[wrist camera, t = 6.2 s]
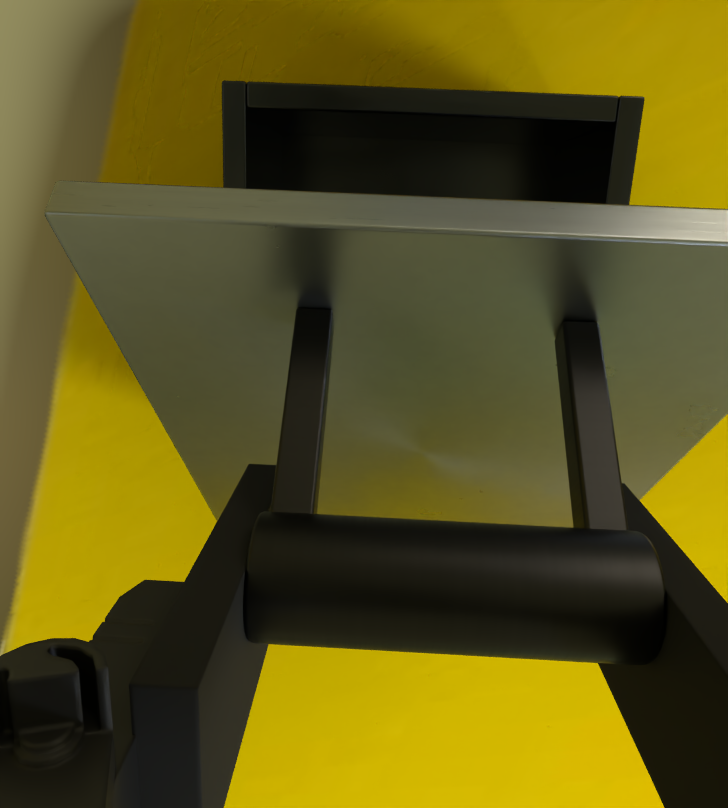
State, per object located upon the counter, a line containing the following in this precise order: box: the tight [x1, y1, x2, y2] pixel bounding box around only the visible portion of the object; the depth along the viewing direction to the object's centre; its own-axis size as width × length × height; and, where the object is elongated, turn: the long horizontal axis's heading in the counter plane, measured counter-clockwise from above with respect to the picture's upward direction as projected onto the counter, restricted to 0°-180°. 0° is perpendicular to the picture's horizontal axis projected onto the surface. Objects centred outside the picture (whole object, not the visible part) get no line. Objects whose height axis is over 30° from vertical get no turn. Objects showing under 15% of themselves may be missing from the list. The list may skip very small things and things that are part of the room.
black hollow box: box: [222, 80, 644, 205], centre depth 28 cm, size 16×14×9 cm
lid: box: [45, 181, 728, 665], centre depth 17 cm, size 17×14×7 cm
